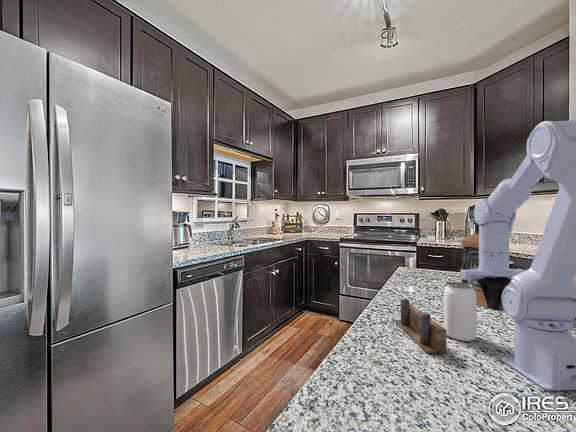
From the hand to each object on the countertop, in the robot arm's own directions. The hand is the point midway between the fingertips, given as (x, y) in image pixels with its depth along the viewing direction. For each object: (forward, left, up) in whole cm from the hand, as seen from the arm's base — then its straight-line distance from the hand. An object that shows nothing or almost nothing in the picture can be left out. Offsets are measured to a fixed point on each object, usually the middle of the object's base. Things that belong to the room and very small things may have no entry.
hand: (493, 309), depth 66 cm
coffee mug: (+37, -32, -6) cm, 49 cm away
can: (0, +8, -6) cm, 10 cm away
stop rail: (0, +17, -6) cm, 18 cm away
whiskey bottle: (+24, -15, -6) cm, 29 cm away
